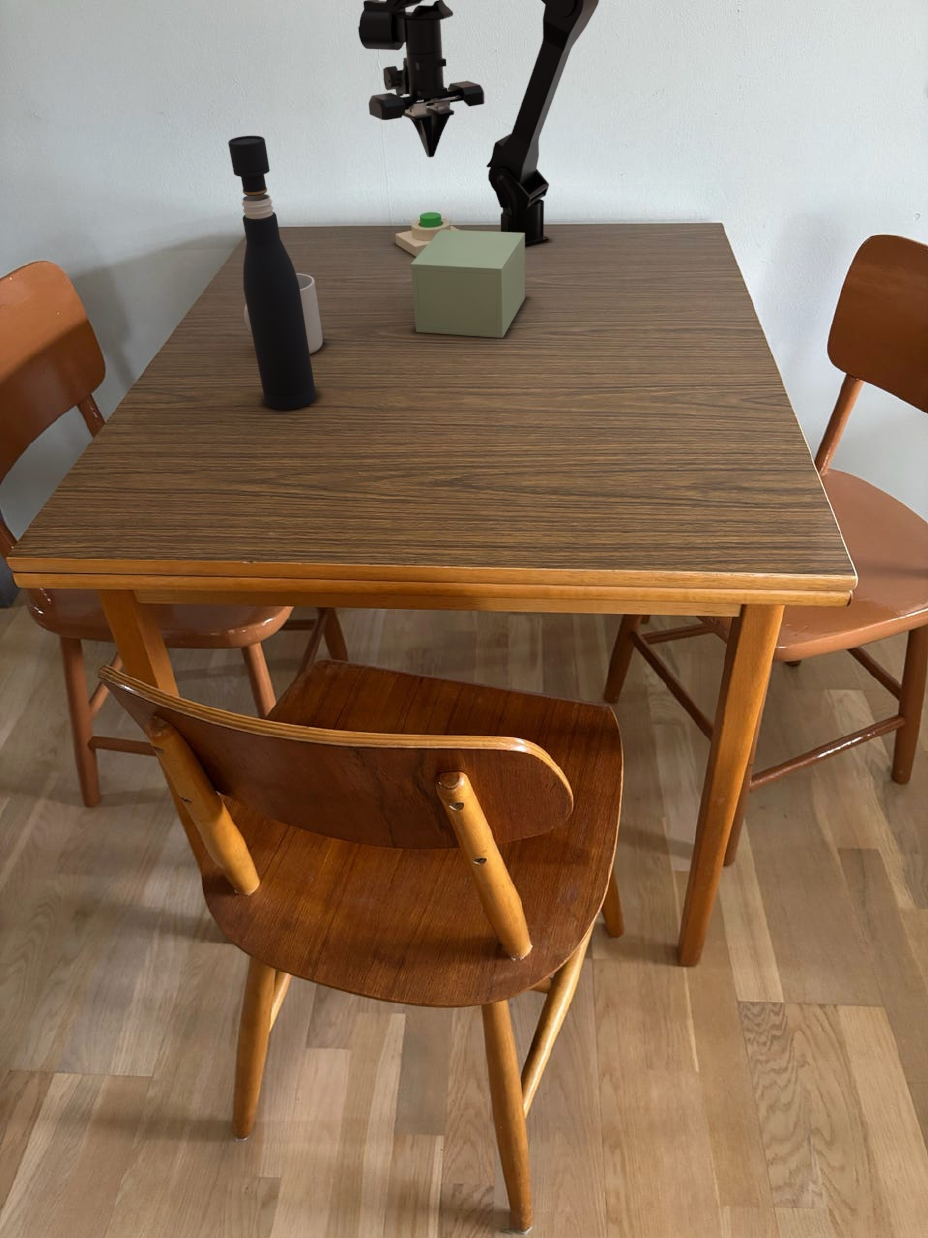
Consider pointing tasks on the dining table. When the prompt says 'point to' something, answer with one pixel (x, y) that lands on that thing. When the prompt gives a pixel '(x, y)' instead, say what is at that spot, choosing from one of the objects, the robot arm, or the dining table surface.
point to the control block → (420, 236)
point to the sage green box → (469, 282)
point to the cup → (305, 312)
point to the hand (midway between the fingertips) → (430, 156)
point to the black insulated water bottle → (271, 287)
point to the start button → (430, 220)
